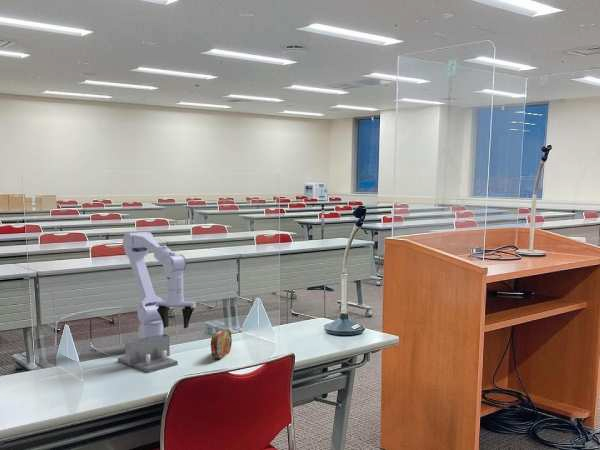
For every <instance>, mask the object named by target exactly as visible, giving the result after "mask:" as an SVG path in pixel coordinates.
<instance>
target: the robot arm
mask: <svg viewBox="0 0 600 450" xmlns="http://www.w3.org/2000/svg"><path fill="white" fill-rule="evenodd" d="M122 245H123V249H124V253H125V256H126V257H128V261H129V263H130V266H131V269H132V273H133V276H134V279H135V283H136V285H137V286H136V287H137V289H138V292H139V296H140V299H141V300H140V301H139V302H138V303H137V305H136V310H137V319H138V321H139V323H140V324H139V326H138V329H137V331H138V339H140V338H146V337H152V336H157V335H163V334H164V328H167V327H169V322H170V321H169V315H170V313H169V312H170V308H182V309H181V312H182V317H183V318H182V319H183V328H184V329H187V328H189V324H190V320H191V317H192V314H193V312H194V310H195V308H196V307H197V306H196V301H192V300H191V301H190V300H185V298H184V297H185V296H184V271H185V270H186V268H187V259H186V257H185V256H184V255H183V254H176V253H175V252H174V251H173V250H171V249H170V248H168V246H167V245H160V244H159V243H158V242H157V241H156V240H155V239H154V235H153V234H152V233H151V232H150V231H139V232H125V234H124V235H123V238H122ZM149 252H151V253H153V257H154V259H156V260H157V261H158V262H159V263H161V265H162V269H163V270H164V276H165V277H166V300H163V298H161V297H159V296H158V295H156V293H155V290H154V287H153V284H152V280H151V277H150V274H149V270H148V268H147V265H146V262H145V259H144V258H145V256H148V254H149Z"/></svg>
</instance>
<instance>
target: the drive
mask: <svg viewBox="0 0 600 450" xmlns="http://www.w3.org/2000/svg"><path fill="white" fill-rule="evenodd" d="M124 344H125V346H124V348H125V356H126V363H128V364H130V365H131V364H135V363H140V362H145V361H146V355H147V354H150V360H154V359H159V358H162V351H163V350H166V356H167V358H169V357H170V355H171V354H170V353H171V352H170V351H171V350H170V349H171V348H170V335H168V334H165V333H163V335H157V336H152V337H146V338H140V339H139V338H136V339H129V340H125V341H124Z"/></svg>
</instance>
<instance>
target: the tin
mask: <svg viewBox="0 0 600 450" xmlns="http://www.w3.org/2000/svg"><path fill="white" fill-rule="evenodd" d="M232 339H233V338H232V334H231V331H230V329H228V328H226V329H220V330H219V331H217V332H216V333H215V334H213V335H212V337H211V339H210V349H211V350H210V351H211V356H212V358H213V359H220V360H222V359H223V358H225V357H226V355H227V354H228V355H229V353H230V352H231V350H232V349H231V348H232V342H233V341H232Z"/></svg>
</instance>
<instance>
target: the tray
mask: <svg viewBox="0 0 600 450" xmlns="http://www.w3.org/2000/svg"><path fill="white" fill-rule="evenodd" d="M119 361H120V362H119ZM117 362H119V363H121V362H123V363H122V364H124V363H126V355H124V356H119V357H117ZM127 364H128V363H126V364H125V365H127ZM129 365H130V364H129ZM129 365H128V366H129ZM132 366H133V367H132ZM174 366H178V360H175V359H173V358H170V357H167V356H166V350H163V351H162V358H159V359H154V360H150V354H147V355H146V361H145V362H140V363H135V364H131V366H130V367H132V368H135V369H137V368H138V370H141V371H143V372H145V373H148V374H149V373H153V372H156V371H160V370H162V369H167V368H171V367H174Z"/></svg>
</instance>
